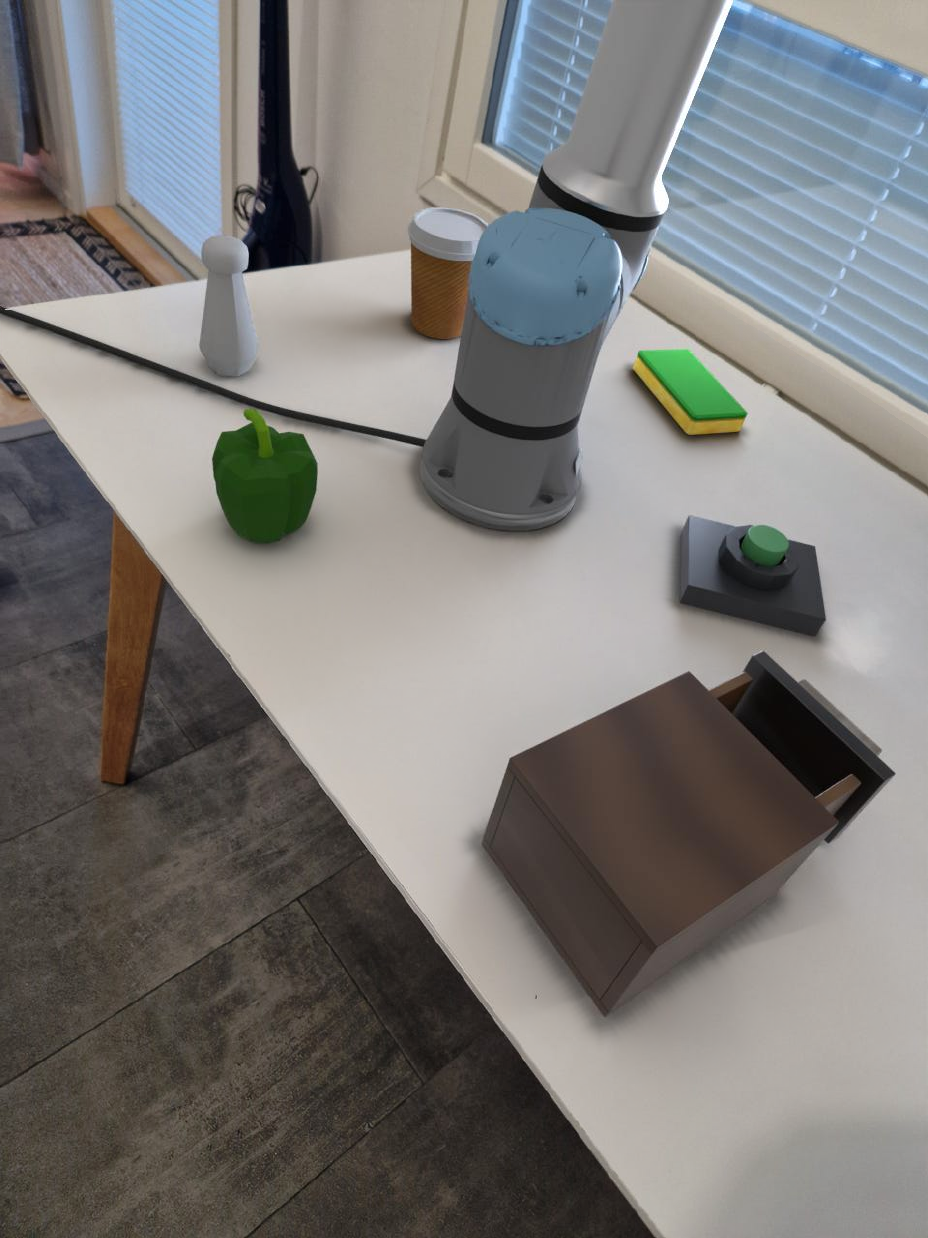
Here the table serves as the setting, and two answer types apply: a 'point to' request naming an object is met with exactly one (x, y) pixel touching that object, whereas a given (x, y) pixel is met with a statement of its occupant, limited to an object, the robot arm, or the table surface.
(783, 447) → the table surface
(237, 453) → the bell pepper
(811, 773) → the drawer
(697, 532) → the control block
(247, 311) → the salt shaker
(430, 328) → the disposable coffee cup
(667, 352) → the dish sponge
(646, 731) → the cabinet
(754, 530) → the button
